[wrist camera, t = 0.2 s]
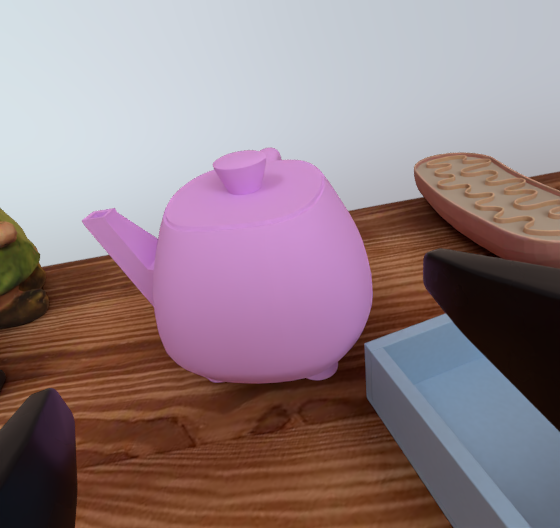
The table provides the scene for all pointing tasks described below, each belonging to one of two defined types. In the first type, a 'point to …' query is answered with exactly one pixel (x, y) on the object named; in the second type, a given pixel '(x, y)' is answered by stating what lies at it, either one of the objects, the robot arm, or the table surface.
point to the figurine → (19, 276)
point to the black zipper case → (2, 378)
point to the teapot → (250, 271)
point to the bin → (465, 428)
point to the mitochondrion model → (494, 206)
